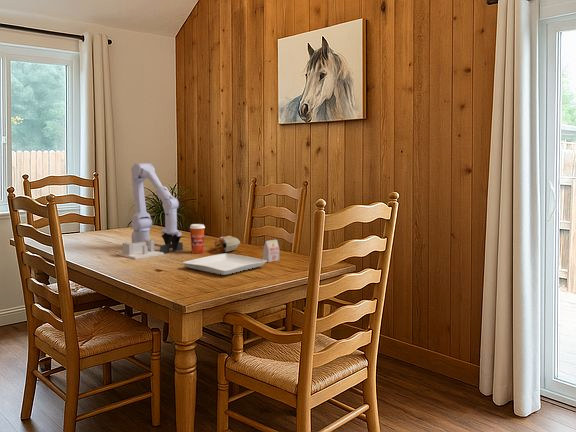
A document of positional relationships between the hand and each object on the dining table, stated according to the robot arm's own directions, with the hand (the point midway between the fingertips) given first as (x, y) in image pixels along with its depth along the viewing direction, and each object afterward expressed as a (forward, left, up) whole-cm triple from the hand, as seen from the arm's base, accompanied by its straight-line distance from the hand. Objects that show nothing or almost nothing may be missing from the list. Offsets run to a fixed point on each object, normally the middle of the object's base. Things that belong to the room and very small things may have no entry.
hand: (171, 248), depth 295 cm
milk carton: (+52, +19, -2) cm, 55 cm away
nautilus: (+18, +18, -2) cm, 26 cm away
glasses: (-5, 0, -1) cm, 5 cm away
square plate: (+48, -6, -2) cm, 48 cm away
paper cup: (+11, +8, -2) cm, 14 cm away
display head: (-4, -15, -1) cm, 16 cm away
